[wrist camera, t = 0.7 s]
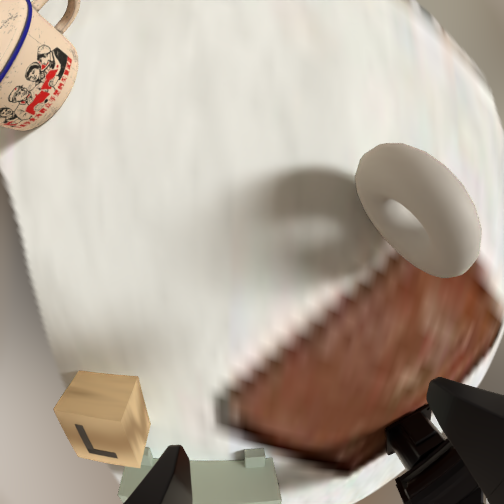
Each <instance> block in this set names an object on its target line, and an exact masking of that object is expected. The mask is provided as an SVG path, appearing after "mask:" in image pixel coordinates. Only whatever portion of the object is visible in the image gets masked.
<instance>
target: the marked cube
mask: <svg viewBox="0 0 504 504" xmlns="http://www.w3.org/2000/svg"><path fill="white" fill-rule="evenodd" d="M54 412H55V414H56V416H57V418H58V420H59V422H60V424H61V426H62V428H63V430H64V432H65V434H66V436H67V438H68V439H69V441H70V443H71V445H72V447H73V448H74V450H75V452H76V454H77V456H78V457H81V458H85V459H90V460H94V461H99V462H104V463H109V464H115V465H121V466H127V467H134V468H140V467H141V462H142V458H143V454H144V449H145V445H146V441H147V437H148V433H149V429H150V425H151V423H150V420H149V416H148V413H147V409H146V405H145V402H144V398H143V394H142V390H141V386H140V382H139V378H138V376H125V375H114V374H104V373H95V372H87V371H78V373H77V374H76V376H75V377H74V379H73V380H72V382H71V383H70V385H69V386H68V387H67V389H66V390H65V392H64V393H63V395H62V396H61V398H60V399H59V401H58V403H57V404H56V406H55V407H54Z"/></svg>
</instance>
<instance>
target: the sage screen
mask: <svg viewBox="0 0 504 504" xmlns="http://www.w3.org/2000/svg"><path fill="white" fill-rule="evenodd" d="M244 453H245V460H235V461H190V471H191V484H192V497H193V504H281V501H282V499H281V494H280V490H279V485H278V481H277V476H276V472H275V467H274V463H273V458H265V452H264V448H261V449H247V450H244ZM157 461H158V459H154V458H153V456H152V454H151V451H150V448H146V447H145V449H144V454H143V458H142V462H141V467H140V468H134V467H127V466H125V468H124V472H123V476H122V479H121V483H120V487H119V491H118V496H119V498H120V499H121V501H122V502H123V503H124V502H125V501H126V500H127V499H128V497H129V496H130V495H131V494H132V492H133V491H134V490H135V489H136V487H137V486H138V485H139V484H140V482H141V481H142V480H143V479H144V477H145V476H146V475H147V474H148V472H149V471H150V470H151V468H152V467H153V466H154V465H155V463H156V462H157Z"/></svg>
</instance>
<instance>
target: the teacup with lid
mask: <svg viewBox="0 0 504 504" xmlns="http://www.w3.org/2000/svg"><path fill="white" fill-rule="evenodd" d="M47 1H48V0H33V1H32V2H30V0H0V126H2V127H6V128H11V129H15V130H21V131H24V130H30V129H33V128H35V127H38V126H39V125H41V124H43V123H44V122H46V121H47V120H48V119H49V118H50V117H52V116H53V115H54V114H55V113H56V112H57V110H58V109H59V108H60V107H61V106H62V104H63V103H64V101H65V100H66V98H67V97H68V95H69V93H70V91H71V89H72V87H73V85H74V82H75V79H76V76H77V71H78V55H77V52H76V49H75V48H74V46H73V45H72V44H71V43H70V42H69V41H68V40H67V39H66V38H65V37H64V36H63V35H62V34H63V33H64V32H65V31H66V30H67V28H68V27H69V26H70V25H71V23H72V22H73V21H74V19H75V17H76V15H77V13H78V11H79V7H80V0H68V6H67V10H66V12H65V14H64V16H63V17H62V18H61V20H60V21H59V22H58V23H57V25H56V26H55V27H53V26H52V25H51V24H50V23H49V22H48V21H47V20H45V19H44V18H43V17H42V16H41V15H40V14H39V13H38V11H39V10H40V9H41V8H42V7H43V6H44V5H45V3H46V2H47Z"/></svg>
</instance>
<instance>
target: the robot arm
mask: <svg viewBox="0 0 504 504" xmlns="http://www.w3.org/2000/svg"><path fill="white" fill-rule="evenodd" d="M427 402H428V404H427V405H425V406H424V407H422V408H421V409H419V410H417V411H416V412H414V413H412V414H411V415H409V416H407V417H405V418H404V419H402V420H400V421H398V422H396V423H395V424H393V425H391V426H389V427H387V428H386V430H385V437H386V451H387V454H388V455H391V454H393V453H396V454H397V456H398V457H399V459H400V460H401V462H402V464H403V465H404V467H405V468H406V470H407V472H406V473H405V474H403V475H402V476H400V477H398V478H397V479H395V481H396V483H397V484H396V486H397V488H398V490H399V493H400V495H401V498H402V502H403V504H486V498H487V500H488V502H489V503H490V504H504V395H500V394H497V393H493V392H490V391H486V390H483V389H479V388H476V387H472V386H469V385H465V384H462V383H459V382H455V381H452V380H449V379H446V378H442V377H437V378H435V379H433V380H431V381H430V383H429V388H428V392H427ZM431 409H432V411H433V413H434V415H435V417H436V419H437V421H438V423H439V425H440V427H441V428H442V430H443V432H444V433H445V435H446V436H447V439H445V438H444V436H443V435H442V434H441V433H440V432H439V430H438V429H437V428H436V427H435V426H434V425H433V423H432V422H431V421H430V420H431ZM123 504H193V497H192V484H191V471H190V461H189V458H188V456H187V454H186V452H185V451H184V449H183V447H182V446H181V445H170V446H168V448H167V449H166V450H165V452H164V453H163V454H162V455H161V457H160V458H159V459H158V461H157V462H156V463H155V465H154V466H153V467H152V468H151V470H150V471H149V472H148V474H147V475H146V476H145V477H144V479H143V480H142V481H141V482H140V484H139V485H138V486H137V487H136V489H135V490H134V491H133V492H132V494H131V495H130V496H129V497H128V499H127V500H126V501H125V502H124V503H123Z"/></svg>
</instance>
